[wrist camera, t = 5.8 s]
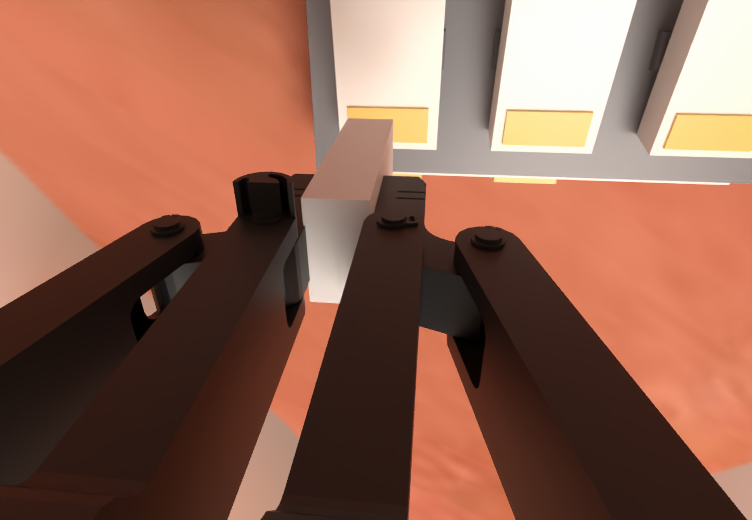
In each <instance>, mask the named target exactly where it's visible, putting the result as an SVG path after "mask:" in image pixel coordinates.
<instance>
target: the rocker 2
mask: <svg viewBox="0 0 752 520" xmlns="http://www.w3.org/2000/svg"><path fill="white" fill-rule="evenodd" d="M636 2H637V0H506V1H505V9H504V16H503V23H502V31H501V38H500V46H499V53H498V60H497V68H496V75H495V83H494V90H493V97H492V105H491V112H490V120H489V127H488V135H489V142H490V149H491V151H513V152H548V153H583V154H592V151H593V147H594V144H595V140H596V137H597V134H598V130H599V127H600V124H601V120H602V117H603V113H604V110H605V107H606V103H607V100H608V96H609V93H610V90H611V86H612V83H613V80H614V76H615V73H616V69H617V66H618V63H619V59H620V56H621V53H622V49H623V46H624V42H625V39H626V36H627V32H628V29H629V25H630V22H631V19H632V15H633V12H634V9H635V5H636Z"/></svg>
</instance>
